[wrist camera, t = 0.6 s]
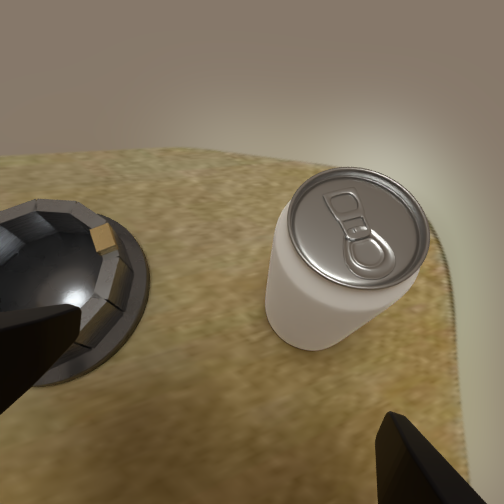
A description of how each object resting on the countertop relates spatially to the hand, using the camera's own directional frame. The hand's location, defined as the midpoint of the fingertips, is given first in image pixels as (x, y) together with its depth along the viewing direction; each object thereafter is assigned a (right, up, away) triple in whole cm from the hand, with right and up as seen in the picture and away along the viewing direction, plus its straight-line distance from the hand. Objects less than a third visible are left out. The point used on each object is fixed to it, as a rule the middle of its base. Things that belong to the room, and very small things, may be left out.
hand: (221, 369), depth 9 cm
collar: (-13, 0, +15) cm, 20 cm away
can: (+5, -1, +15) cm, 16 cm away
